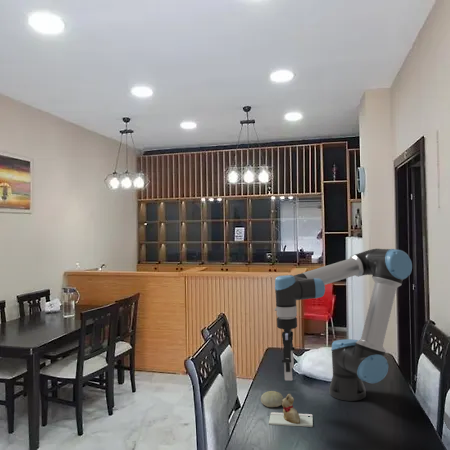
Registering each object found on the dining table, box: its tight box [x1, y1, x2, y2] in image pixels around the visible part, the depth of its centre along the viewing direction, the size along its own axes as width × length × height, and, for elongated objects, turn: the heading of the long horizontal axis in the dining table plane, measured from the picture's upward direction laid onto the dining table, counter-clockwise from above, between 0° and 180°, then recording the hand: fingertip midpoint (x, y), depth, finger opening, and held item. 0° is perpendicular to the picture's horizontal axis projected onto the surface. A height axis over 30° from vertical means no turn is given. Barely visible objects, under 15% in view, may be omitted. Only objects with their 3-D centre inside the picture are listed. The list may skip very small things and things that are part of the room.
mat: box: [268, 414, 314, 428], centre depth 156 cm, size 16×7×1 cm, turn 79°
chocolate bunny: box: [281, 393, 300, 424], centre depth 156 cm, size 6×8×10 cm
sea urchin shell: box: [260, 390, 284, 408], centre depth 172 cm, size 9×8×8 cm
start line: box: [270, 411, 313, 417], centre depth 161 cm, size 16×2×1 cm, turn 79°
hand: (289, 373), depth 156 cm, fingers open, 13 cm apart
